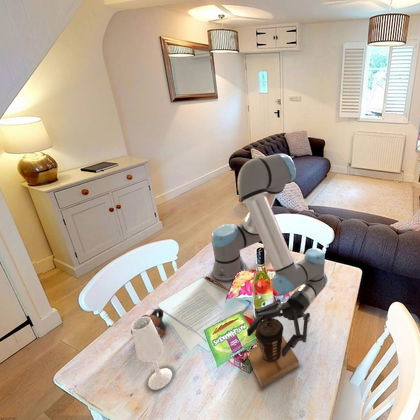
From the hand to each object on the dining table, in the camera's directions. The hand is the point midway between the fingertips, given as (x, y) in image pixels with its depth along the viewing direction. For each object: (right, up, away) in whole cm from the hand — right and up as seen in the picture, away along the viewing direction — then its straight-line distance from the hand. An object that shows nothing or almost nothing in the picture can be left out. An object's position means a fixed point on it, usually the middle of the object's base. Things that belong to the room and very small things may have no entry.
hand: (264, 343), depth 83 cm
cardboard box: (+1, -9, +7) cm, 12 cm away
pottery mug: (-44, -4, +17) cm, 47 cm away
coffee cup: (+1, -7, +6) cm, 9 cm away
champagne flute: (-33, -12, +1) cm, 35 cm away
